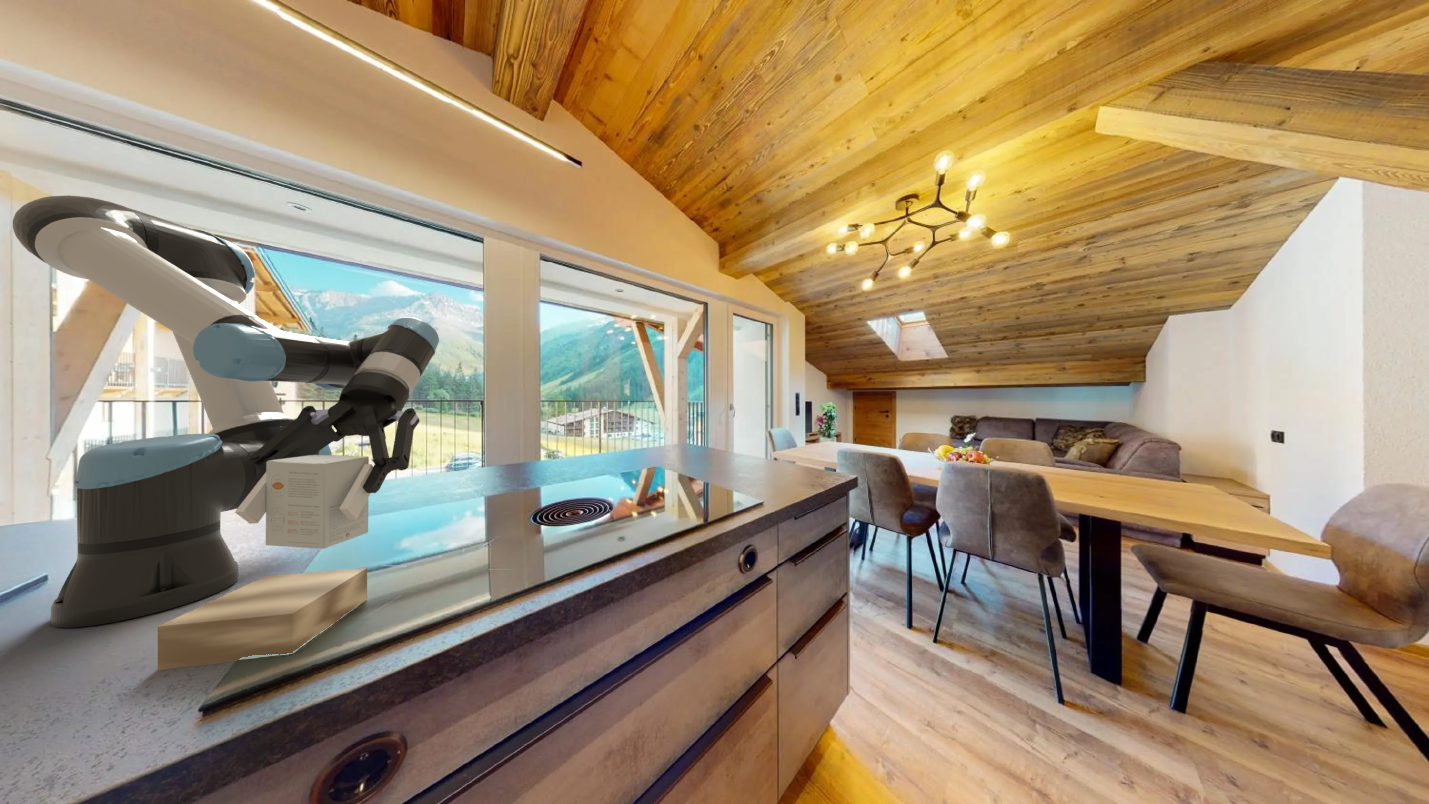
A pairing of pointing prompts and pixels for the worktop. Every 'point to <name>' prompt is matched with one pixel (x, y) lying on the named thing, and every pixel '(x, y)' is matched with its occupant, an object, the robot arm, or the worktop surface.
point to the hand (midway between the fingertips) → (298, 515)
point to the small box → (312, 501)
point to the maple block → (261, 618)
